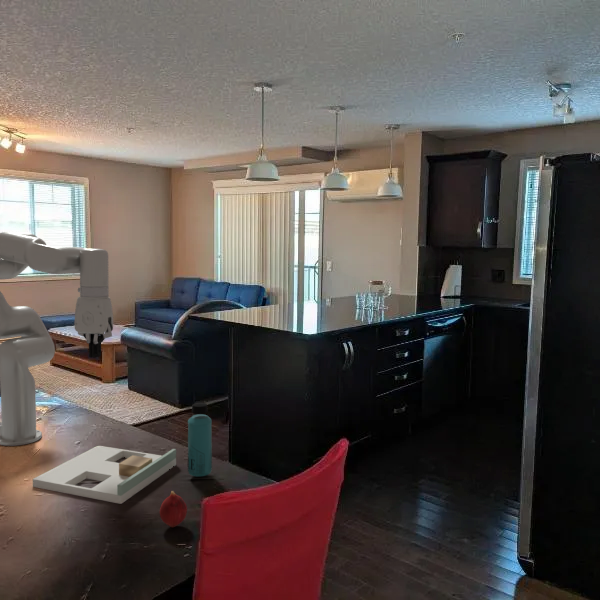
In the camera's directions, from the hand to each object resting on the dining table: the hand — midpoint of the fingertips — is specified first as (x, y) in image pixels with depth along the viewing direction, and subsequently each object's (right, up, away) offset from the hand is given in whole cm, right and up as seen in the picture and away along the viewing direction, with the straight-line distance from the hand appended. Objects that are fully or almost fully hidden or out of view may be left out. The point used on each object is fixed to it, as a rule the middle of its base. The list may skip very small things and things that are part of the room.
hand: (95, 356), depth 156 cm
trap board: (+7, -30, -11) cm, 33 cm away
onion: (+31, -34, -36) cm, 58 cm away
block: (+16, -29, -13) cm, 35 cm away
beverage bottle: (+32, -31, -10) cm, 46 cm away
